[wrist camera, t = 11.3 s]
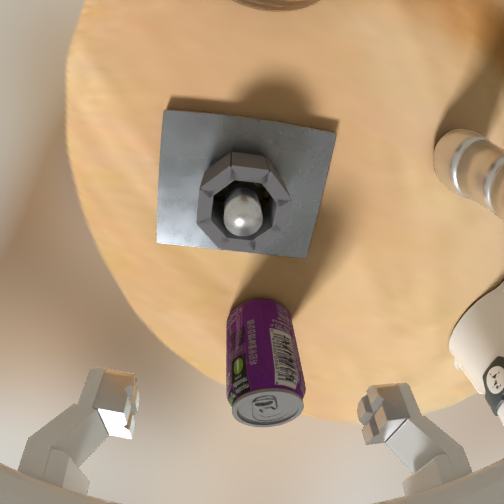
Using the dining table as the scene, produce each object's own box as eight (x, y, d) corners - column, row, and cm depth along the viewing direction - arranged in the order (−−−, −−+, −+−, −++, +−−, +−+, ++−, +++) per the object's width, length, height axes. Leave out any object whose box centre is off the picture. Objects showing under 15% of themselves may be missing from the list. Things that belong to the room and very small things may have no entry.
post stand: (333, 131, 26) (363, 150, 20) (304, 253, 32) (319, 297, 26) (166, 109, 24) (144, 120, 18) (158, 237, 30) (142, 281, 24)
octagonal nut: (288, 159, 25) (297, 174, 21) (273, 231, 28) (279, 255, 25) (206, 148, 24) (202, 161, 21) (199, 223, 27) (194, 246, 24)
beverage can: (217, 304, 34) (213, 398, 24) (282, 287, 34) (301, 379, 23) (238, 347, 38) (241, 434, 28) (296, 332, 37) (314, 419, 27)
